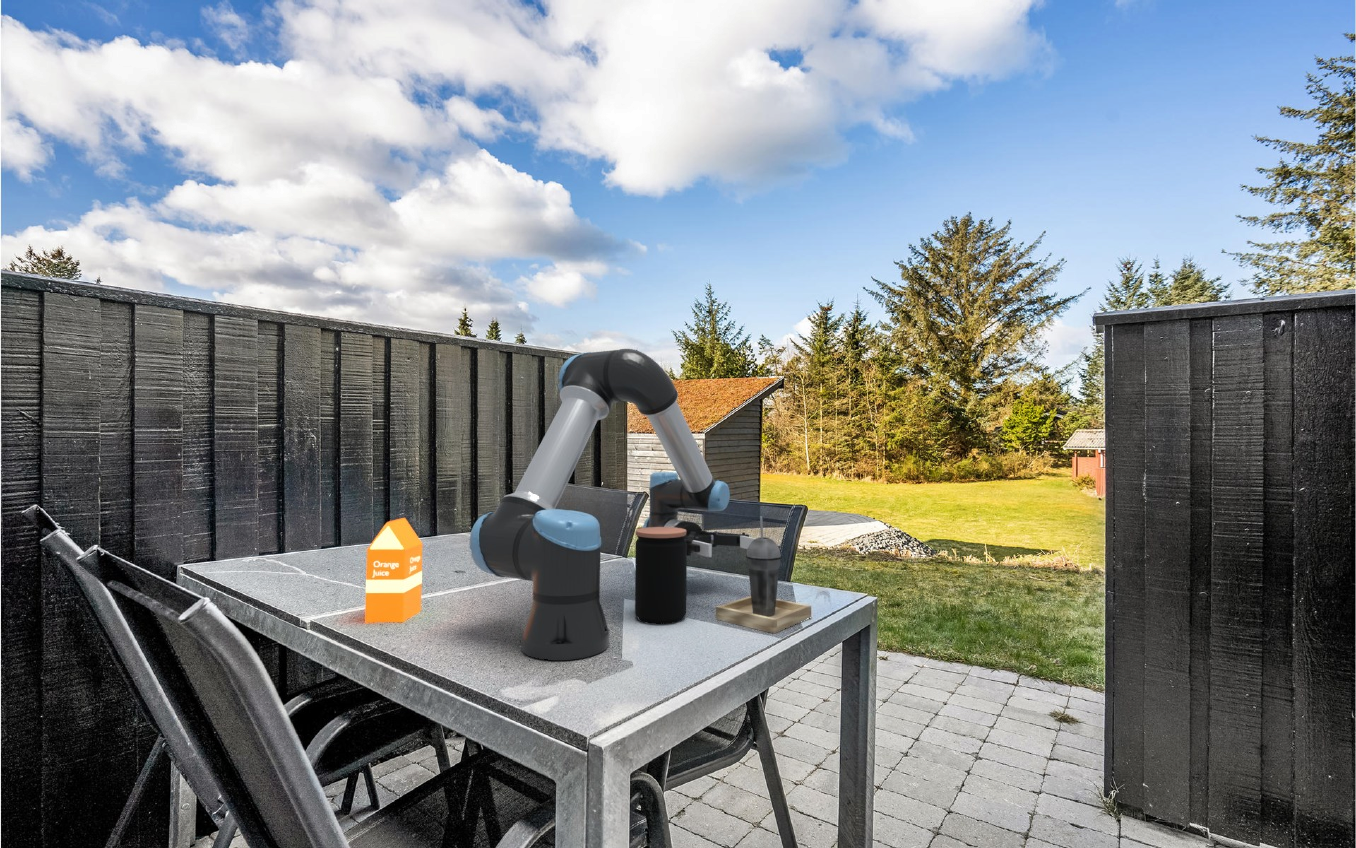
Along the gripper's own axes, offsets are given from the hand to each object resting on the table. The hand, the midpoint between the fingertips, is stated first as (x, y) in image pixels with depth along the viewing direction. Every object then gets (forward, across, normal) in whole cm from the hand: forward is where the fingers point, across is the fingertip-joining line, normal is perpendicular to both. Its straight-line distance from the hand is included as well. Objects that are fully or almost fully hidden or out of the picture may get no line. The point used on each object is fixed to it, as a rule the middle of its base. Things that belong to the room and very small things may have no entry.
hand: (735, 548), depth 128 cm
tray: (+9, 0, -13) cm, 16 cm away
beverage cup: (+9, 0, -12) cm, 15 cm away
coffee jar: (-2, +18, -13) cm, 22 cm away
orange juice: (-32, +64, -13) cm, 73 cm away
